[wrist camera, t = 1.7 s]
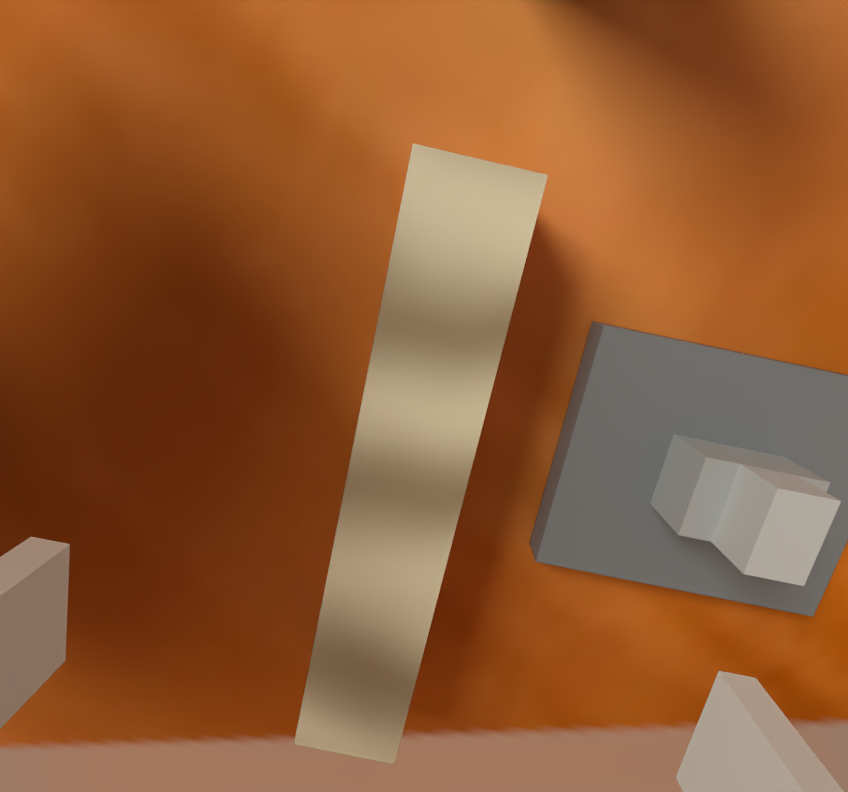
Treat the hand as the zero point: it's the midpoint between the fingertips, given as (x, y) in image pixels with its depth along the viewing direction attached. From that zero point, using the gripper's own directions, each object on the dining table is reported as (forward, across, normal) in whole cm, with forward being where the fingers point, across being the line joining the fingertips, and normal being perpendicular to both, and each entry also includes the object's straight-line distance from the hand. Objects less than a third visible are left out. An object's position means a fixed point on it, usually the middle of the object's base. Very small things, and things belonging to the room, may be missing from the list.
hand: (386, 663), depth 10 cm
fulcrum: (+12, +12, +2) cm, 17 cm away
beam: (+12, 0, 0) cm, 12 cm away
